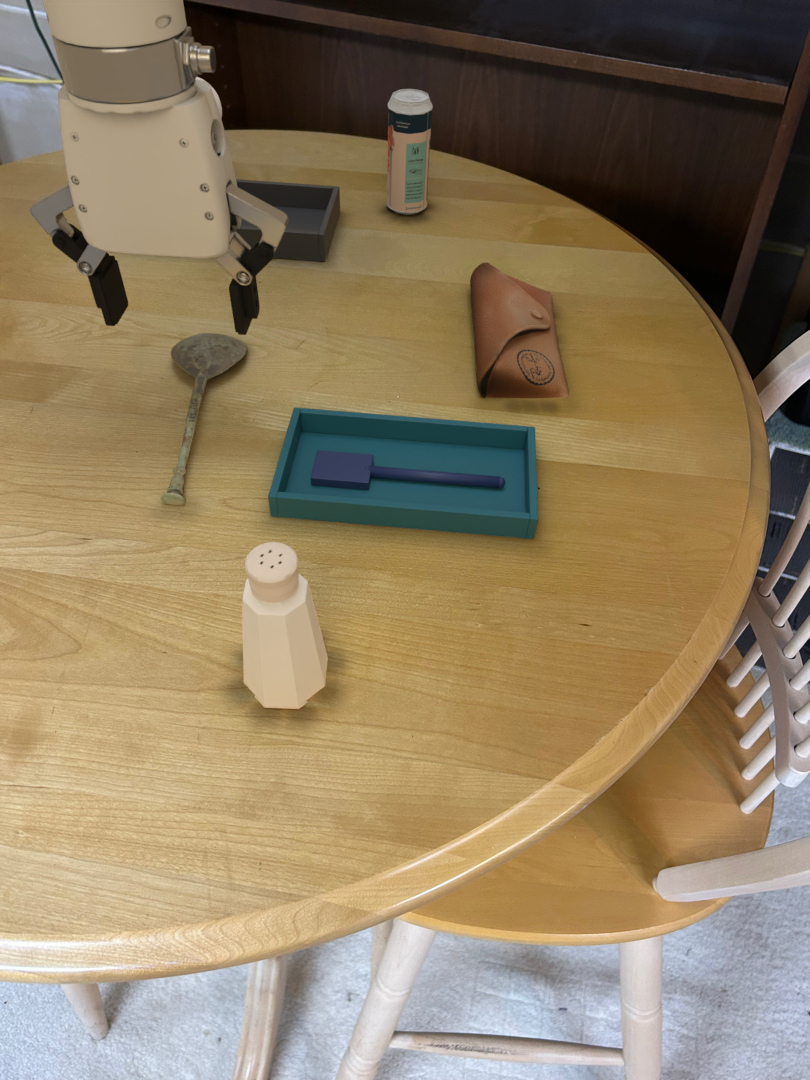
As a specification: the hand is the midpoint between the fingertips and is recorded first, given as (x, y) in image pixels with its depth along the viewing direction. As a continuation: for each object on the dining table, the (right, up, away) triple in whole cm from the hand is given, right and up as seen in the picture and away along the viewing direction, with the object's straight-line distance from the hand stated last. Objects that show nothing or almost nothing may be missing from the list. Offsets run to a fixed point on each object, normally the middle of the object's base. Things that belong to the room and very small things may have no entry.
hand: (181, 320), depth 60 cm
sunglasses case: (+27, +2, +16) cm, 31 cm away
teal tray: (+17, -12, +2) cm, 21 cm away
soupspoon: (-1, -6, +7) cm, 9 cm away
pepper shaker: (+9, -25, -9) cm, 28 cm away
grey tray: (-4, +18, +29) cm, 34 cm away
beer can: (+17, +22, +33) cm, 43 cm away
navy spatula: (+17, -12, +2) cm, 21 cm away
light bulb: (-8, +27, +37) cm, 47 cm away
